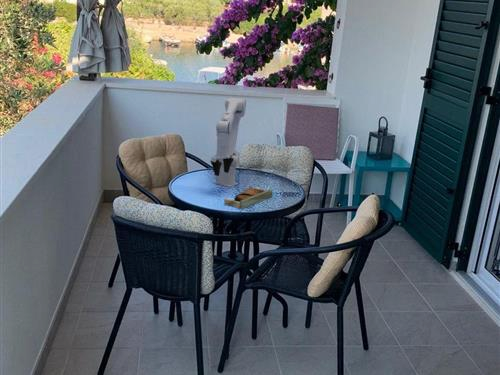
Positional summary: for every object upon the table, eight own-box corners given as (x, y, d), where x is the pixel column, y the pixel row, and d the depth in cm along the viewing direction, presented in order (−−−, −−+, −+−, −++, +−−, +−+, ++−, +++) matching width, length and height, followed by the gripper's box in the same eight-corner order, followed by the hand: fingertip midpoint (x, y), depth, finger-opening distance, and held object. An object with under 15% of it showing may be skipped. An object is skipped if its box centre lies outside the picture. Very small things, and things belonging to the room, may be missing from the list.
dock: (224, 204, 259) (224, 196, 258) (254, 192, 280) (255, 185, 279) (242, 209, 254) (242, 201, 253) (272, 196, 274) (272, 189, 273)
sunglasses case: (250, 205, 260) (244, 192, 259) (238, 210, 263) (232, 197, 263) (265, 195, 276) (259, 182, 275) (253, 200, 279) (247, 187, 279)
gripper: (220, 149, 261) (219, 178, 265) (238, 145, 272) (237, 172, 276) (208, 147, 264) (207, 175, 268) (226, 142, 276) (225, 169, 280)
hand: (221, 173), depth 273 cm, fingers open, 7 cm apart
